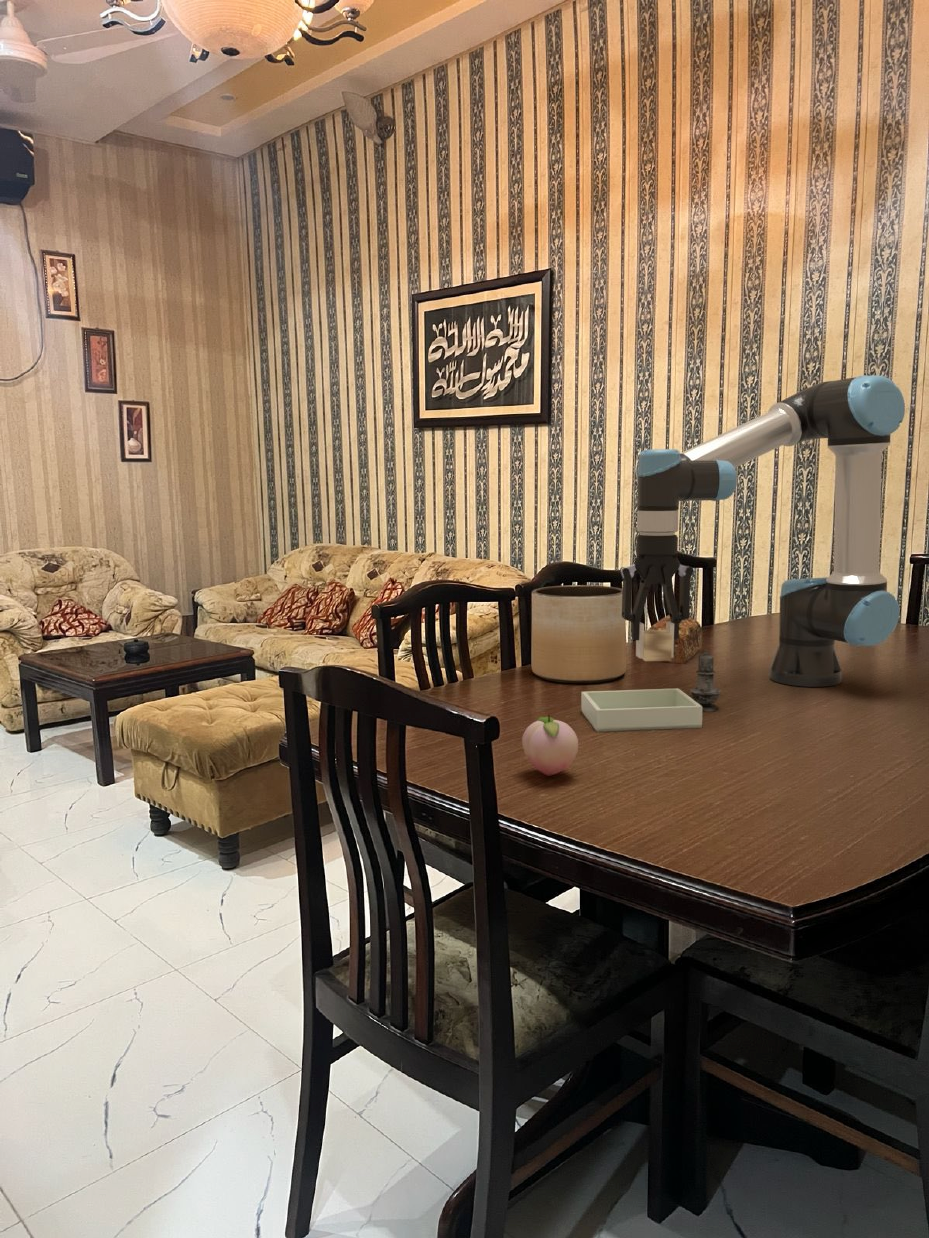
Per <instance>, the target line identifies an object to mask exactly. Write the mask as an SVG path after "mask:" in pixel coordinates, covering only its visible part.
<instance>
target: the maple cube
mask: <svg viewBox="0 0 929 1238" xmlns="http://www.w3.org/2000/svg"><path fill="white" fill-rule="evenodd" d="M671 653H672V634H670V633H668V632H667V631H665V630H648V629H647V630H645V629H644V650H643V658H640V660H641V659H642V661H644V662H656V661H662V662H667V661H671Z"/></svg>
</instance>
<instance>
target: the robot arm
mask: <svg viewBox="0 0 929 1238" xmlns="http://www.w3.org/2000/svg"><path fill="white" fill-rule="evenodd" d="M905 412H906V406H905V399H904V396H903V393H902V391H901V390H900V388H899V386H897V385H896V384H895V382H894V381H893V380H892V379H891V378H888V377H887V376H884V375H876V374H875V375H860V376H855V377H849V378H844V379H843V378H842V379H837V380H828V381H822V382H820V383H817V384H814V385H811V386H808V387H807V388H804V389H802V390H801V391H798V392H796V393H794V394H793V395H791V396H788V397H786V398H785V399H782V400H780V401H778V402H776V403H774V404H773V405H771V406H770V408H769V409H768V411H767V412H765V413H764V414H762V415H759V416H758V417H755V418H753V419H751V420H748V421H746V422H744V423H742V424H740V425H738V426H736V427H734V428H732V429H729V430H727V431H725V432H723V433H721V434H718V435H716V436H715V437H712V438H710V439H708V440H706V441H703V442H702V443H699V444H697V445H695V446H693V447H691V448H688V449H687V450H684V451H682V452H680V450H678V449H675V448H673V449H671V448H667V449H666V448H665V449H664V448H660V449H659V448H658V449H657V448H656V449H652V448H651V449H644V450H642V451H640V453H639V455H638V456H639V457H638V464H637V473H636V476H637V478H636V479H637V480H636V482H637V512H636V513H637V518H636V519H637V521H636V531H637V532H638V533H639V534H637V536H636V555H635V556H636V557H635V560H634V561H633V564H631V565H629V566H626V567H624V566H621V567H620V568H619V572H620V574H621V578H622V579H621V580H622V588H621V589H622V618H624V619H625V620H626V621H628V622H630V624H631V626H630V627H631V631H630V632H631V634H630V637H631V639H632V640H633V641H635V642H636V643H635V657H637V658H638V659H641V658H643V650H644V630H645V623H643V622H641V620H642V618H643V617H642V616H643V613H644V609H645V606H646V601H647V599H648V596H649V591H650V589H651V587H652V585H655V584H661V586H662V591H663V594H664V599H665V602H666V605H667V606H666V608H667V611H668V615H669V616H670V619H671V622H670V621H666V631H667V632H668V633H670V634H672V653H671V658H673V652H674V639H678V638H679V623H680V622H681V621H682V620H685V619H689V617H691V615H690V613H691V612H690V611H691V606H690V605H691V603H690V602H691V578H692V576H693V573H694V568H693V567H691V566H688V565H683V564H681V563H680V562H681V561H679V558H678V555H679V554H678V553H679V552H678V549H679V537H678V535H677V534H676V533H677V532H678V531H679V510H680V509H679V508H680V507H679V506H680V502H684V501H694V502H695V501H697V502H699V501H700V502H701V501H703V502H704V501H706V502H707V501H712V502H717V501H722V500H723V501H725V500H727V499H729V498H730V497H731V496H733V494H734V492H735V491H736V487H737V484H738V473H737V470H736V468H738V467H740V466H742V465H744V464H746V463H748V462H750V461H753V460H754V459H757V458H758V457H762V456H763V455H765V454H767V453H769V452H771V451H773V450H776V449H778V448H780V447H782V446H784V447H792V446H794V445H797V444H799V443H802V442H805V441H806V442H807V441H811V440H818V439H819V440H820V439H827V449H829V451H830V452H832V453H833V454H834V456H835V464H834V465H835V467H834V469H835V471H834V473H835V474H834V479H835V480H834V532H833V533H834V534H833V535H834V537H833V543H834V545H833V551H834V552H833V571H832V573H831V574H830V575H829V576H828V577H827V576H824V577H810V578H809V577H808V578H795V579H787V580H785V581H783V583H782V584H781V587H780V589H781V590H780V596H779V622H778V623H779V625H778V626H779V629H778V631H779V632H778V646H777V649H776V651H775V654H774V656H773V659H772V662H771V665H770V667H769V679H770V680H771V681H773V682H776V683H778V684H779V683H780V684H783V685H789V686H795V687H809V688H810V687H812V688H813V687H814V688H816V687H821V688H823V687H831V686H837V685H840V683H842V673H843V672H842V668H841V665H840V662H839V658H838V654H837V653H836V649H835V641H837V642H842V643H846V644H849V645H852V646H855V647H856V646H863V647H874V646H877V645H879V644H882V643H883V642H885V641H886V640H887V639H888V638H889V636H890V635H891V634H893V633H894V631H895V629H896V627H897V625H898V623H899V619H900V612H901V611H900V603H899V602H898V601H899V600H897V599H896V597H895V595H893V594H892V593H891V592H890V591H888V579H887V578H886V576H884V575H883V574H882V573H881V572H880V552H881V551H880V549H881V547H880V546H881V545H880V543H881V541H880V540H881V501H882V499H881V497H882V495H881V494H882V463H883V462H882V458H883V457H882V456H883V453H884V451H885V450H886V449H887V448H888V447H889V446H890V445H891V437H892V434H893V433H895V432H896V431H897V430H898V429H899V428H900V426H901V425H900V424H902V423H903V420H904V418H905ZM635 571H636V572H637V574H638V576H639V577H640V578H641V579H640V580H639V581H640V582H639V588H638V591H637V595H636V598H635V602H634V605H633V606H634V607H633V608H632V601H633V598H632V597H633V577H634V576H635ZM677 571H678V575H679V607H678V605H677V604H678V603H677V600H676V595H675V591H674V584H673V579H672V578H673V577H674V575H675V574H676V573H677ZM632 609H633V610H632Z"/></svg>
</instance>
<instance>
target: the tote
mask: <svg viewBox="0 0 929 1238" xmlns="http://www.w3.org/2000/svg"><path fill="white" fill-rule="evenodd" d="M580 704H581V710H580V711H581V713H582V714H583V715H584V717H585V718H586V719H587V721H588V722H589V723H590V725H591V726H592V727H593V728H594V730H595V731H596V732H597V733H599V732H600V733H601V732H622V731H623V732H625V731H649V730H676V729H677V730H678V729H682V730H683V729H701V728H702V729H703V711H702V706H701V705H700V704H698V703H697V702H696V701H695V700H694V699H693V697H691V696H689V695H688V694H686V693H685V692H684V691H683V690H681V688H678V687H677V688H655V689H654V688H653V689H648V688H647V689H627V690H626V689H625V690H621V689H620V690H597V691H596V690H594V691H590V690H589V691H581V703H580Z"/></svg>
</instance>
